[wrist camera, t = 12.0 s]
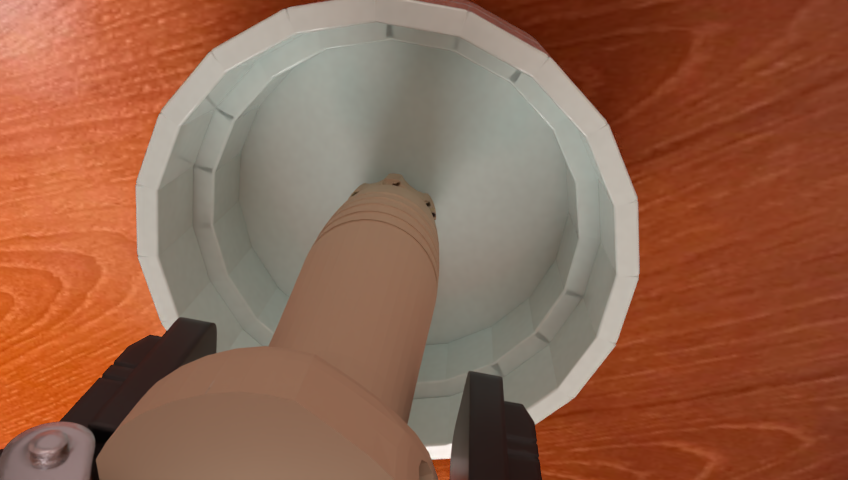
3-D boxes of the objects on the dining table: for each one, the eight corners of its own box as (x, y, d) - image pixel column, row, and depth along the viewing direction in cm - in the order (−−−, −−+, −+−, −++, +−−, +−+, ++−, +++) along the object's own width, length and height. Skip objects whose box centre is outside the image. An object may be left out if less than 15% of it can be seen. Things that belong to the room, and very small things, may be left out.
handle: (421, 108, 22) (330, 352, 8) (484, 265, 24) (498, 666, 10) (298, 156, 23) (30, 445, 9) (369, 302, 25) (241, 712, 11)
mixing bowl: (217, -46, 22) (128, -52, 16) (655, 33, 22) (717, 55, 16) (206, 329, 28) (139, 417, 22) (547, 392, 28) (564, 496, 22)
